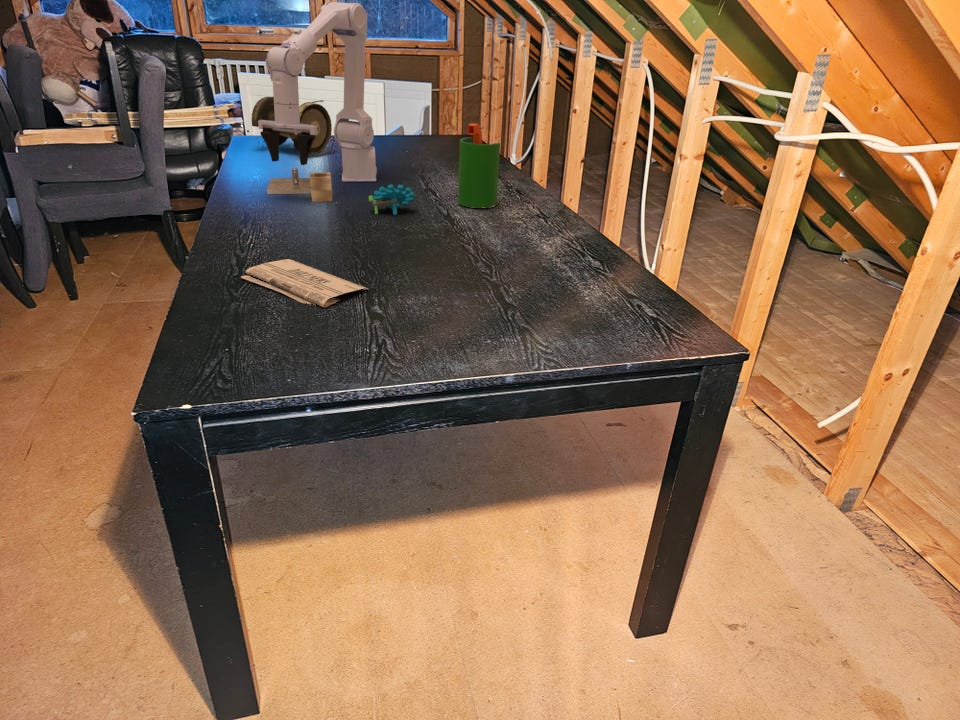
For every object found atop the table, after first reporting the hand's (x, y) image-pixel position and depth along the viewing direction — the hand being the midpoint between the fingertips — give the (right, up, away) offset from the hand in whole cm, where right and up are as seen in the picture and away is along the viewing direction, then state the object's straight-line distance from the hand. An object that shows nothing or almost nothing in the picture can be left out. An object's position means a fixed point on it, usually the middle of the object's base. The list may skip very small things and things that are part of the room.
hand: (289, 162), depth 160 cm
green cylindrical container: (+46, -8, +8) cm, 47 cm away
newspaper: (+15, -36, -41) cm, 56 cm away
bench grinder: (-12, +19, +53) cm, 57 cm away
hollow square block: (+6, -7, +7) cm, 12 cm away
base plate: (-2, -2, +15) cm, 15 cm away
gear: (+25, -12, 0) cm, 28 cm away
